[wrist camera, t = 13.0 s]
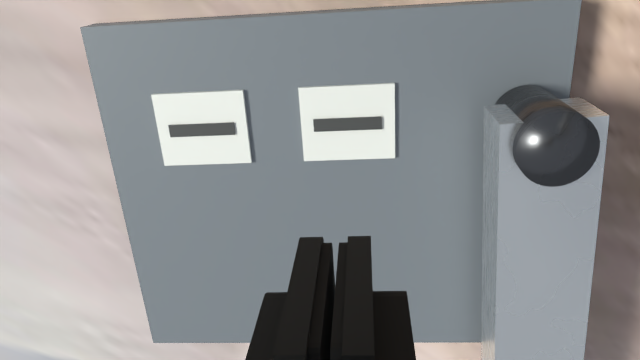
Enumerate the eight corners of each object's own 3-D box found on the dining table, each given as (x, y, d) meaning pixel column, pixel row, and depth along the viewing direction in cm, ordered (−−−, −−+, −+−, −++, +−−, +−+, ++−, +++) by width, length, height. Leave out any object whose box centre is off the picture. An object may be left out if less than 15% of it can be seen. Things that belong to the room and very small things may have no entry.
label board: (568, -5, 23) (584, -2, 21) (530, 324, 30) (540, 346, 28) (95, 23, 25) (76, 28, 23) (162, 326, 32) (151, 346, 30)
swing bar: (478, 89, 23) (503, 116, 19) (572, 80, 23) (618, 106, 19) (476, 439, 31) (494, 510, 27) (545, 438, 31) (573, 509, 27)
